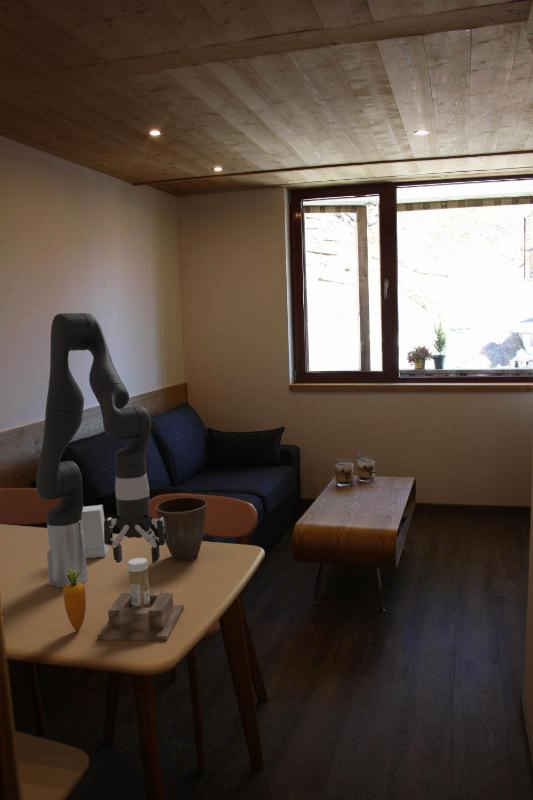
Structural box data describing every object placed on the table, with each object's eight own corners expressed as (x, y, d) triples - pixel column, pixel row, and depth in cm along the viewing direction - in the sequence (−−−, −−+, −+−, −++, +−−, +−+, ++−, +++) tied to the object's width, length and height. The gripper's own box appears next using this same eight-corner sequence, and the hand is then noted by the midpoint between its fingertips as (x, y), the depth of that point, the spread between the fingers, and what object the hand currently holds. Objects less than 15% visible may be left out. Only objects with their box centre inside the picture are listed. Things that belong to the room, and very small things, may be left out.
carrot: (68, 627, 164) (63, 566, 162) (90, 625, 164) (84, 564, 162) (64, 637, 159) (58, 574, 157) (86, 635, 159) (81, 572, 157)
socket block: (97, 639, 157) (95, 616, 156) (120, 608, 173) (118, 587, 172) (167, 640, 155) (165, 617, 154) (183, 608, 171) (182, 587, 170)
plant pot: (190, 569, 196) (187, 514, 194) (149, 562, 203) (144, 509, 201) (219, 551, 209) (216, 500, 207) (179, 545, 216) (176, 495, 214)
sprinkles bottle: (154, 616, 163) (150, 560, 161) (136, 621, 161) (132, 565, 159) (146, 609, 167) (142, 555, 165) (128, 614, 164) (124, 560, 162)
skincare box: (108, 550, 215) (104, 504, 213) (105, 557, 209) (101, 509, 207) (80, 552, 214) (76, 505, 212) (76, 559, 208) (72, 511, 206)
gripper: (96, 498, 157) (101, 567, 159) (158, 498, 155) (162, 568, 157) (108, 489, 164) (112, 555, 166) (167, 489, 162) (171, 556, 165)
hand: (137, 561), depth 162 cm, fingers open, 8 cm apart
